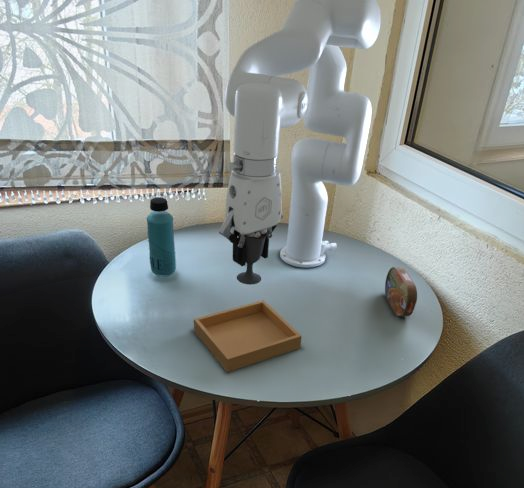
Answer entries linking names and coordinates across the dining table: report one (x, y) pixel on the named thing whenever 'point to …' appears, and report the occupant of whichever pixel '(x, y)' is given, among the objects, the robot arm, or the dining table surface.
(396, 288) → the tin
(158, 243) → the beverage bottle
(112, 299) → the dining table surface
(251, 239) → the sundae
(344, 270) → the dining table surface
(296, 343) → the tray
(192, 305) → the dining table surface
